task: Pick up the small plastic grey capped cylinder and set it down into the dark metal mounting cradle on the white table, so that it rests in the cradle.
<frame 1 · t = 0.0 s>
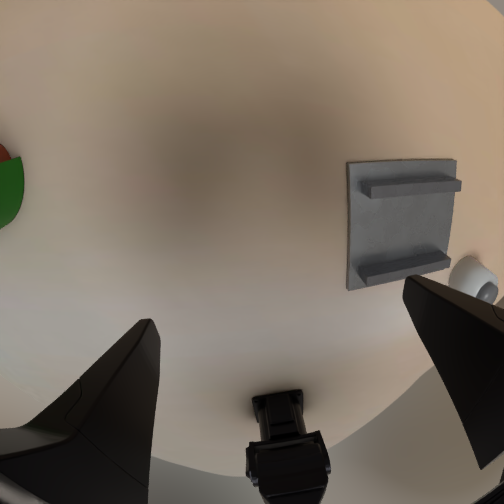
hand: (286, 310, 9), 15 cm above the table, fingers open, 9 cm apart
cradle: (404, 222, 25), on the table
grey capped cylinder: (462, 274, 29), on the table
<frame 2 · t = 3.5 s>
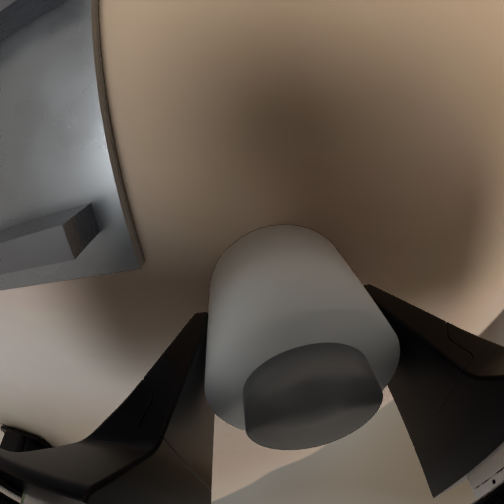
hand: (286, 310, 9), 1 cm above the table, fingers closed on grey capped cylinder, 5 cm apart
grey capped cylinder: (279, 289, 11), on the table, touching gripper
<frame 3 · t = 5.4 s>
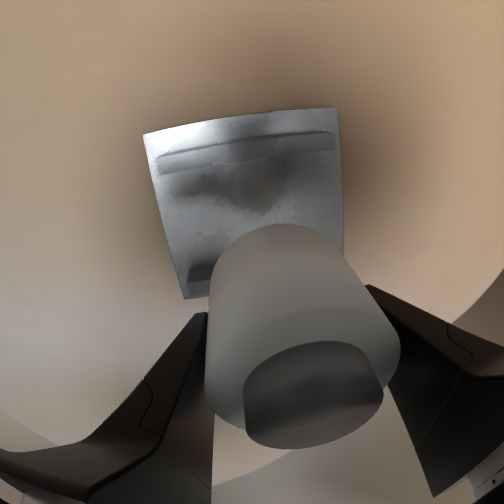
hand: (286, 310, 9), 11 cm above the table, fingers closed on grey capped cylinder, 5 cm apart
cradle: (253, 206, 19), on the table
grey capped cylinder: (279, 288, 11), point 10 cm above the table, touching gripper
when the fingers open (3 cm above the table, at t = 7.6 s): grey capped cylinder drops 1 cm, resting on cradle.
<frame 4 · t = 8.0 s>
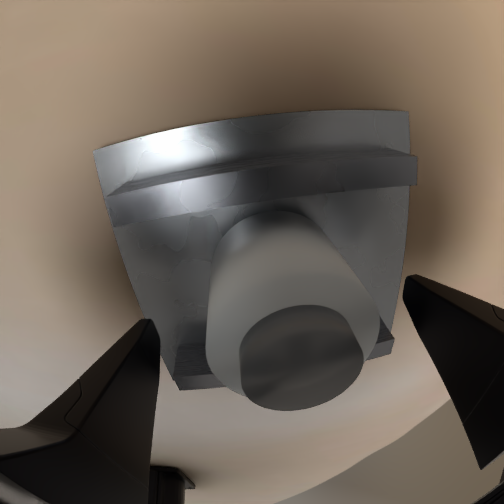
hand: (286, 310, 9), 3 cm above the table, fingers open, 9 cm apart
cradle: (272, 263, 12), on the table
grey capped cylinder: (274, 270, 12), point 1 cm above the table, touching cradle
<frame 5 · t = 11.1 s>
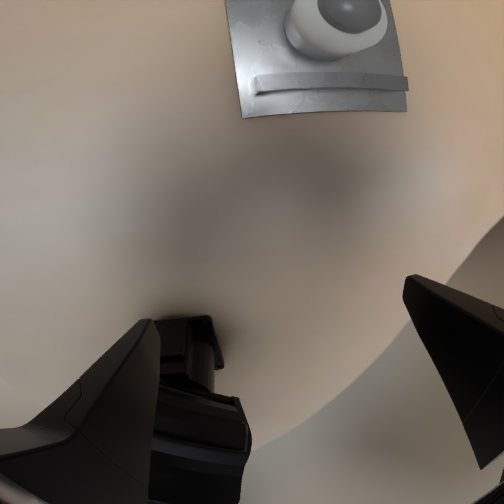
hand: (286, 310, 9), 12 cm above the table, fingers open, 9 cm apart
cradle: (319, 31, 15), on the table
grey capped cylinder: (321, 28, 14), point 1 cm above the table, touching cradle
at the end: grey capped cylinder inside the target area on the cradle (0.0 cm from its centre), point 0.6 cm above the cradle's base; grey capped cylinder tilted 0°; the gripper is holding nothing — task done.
